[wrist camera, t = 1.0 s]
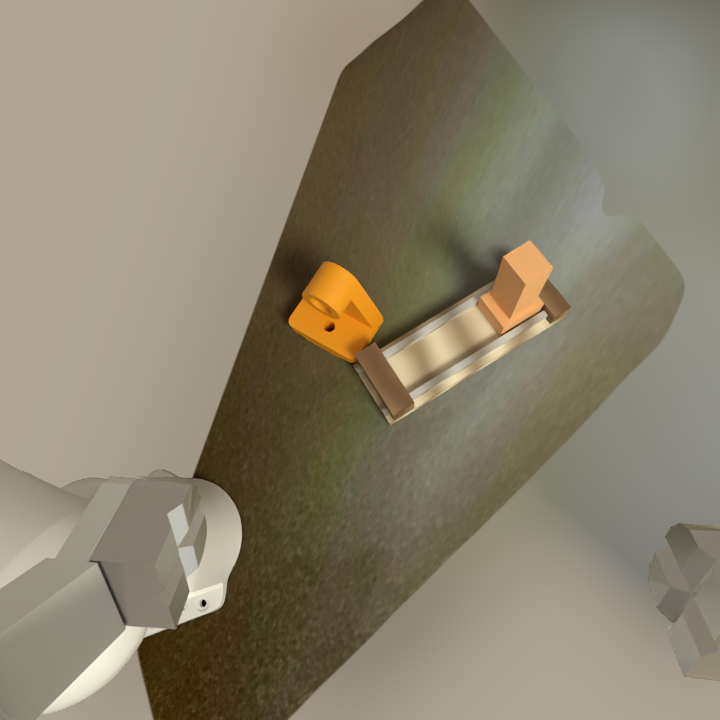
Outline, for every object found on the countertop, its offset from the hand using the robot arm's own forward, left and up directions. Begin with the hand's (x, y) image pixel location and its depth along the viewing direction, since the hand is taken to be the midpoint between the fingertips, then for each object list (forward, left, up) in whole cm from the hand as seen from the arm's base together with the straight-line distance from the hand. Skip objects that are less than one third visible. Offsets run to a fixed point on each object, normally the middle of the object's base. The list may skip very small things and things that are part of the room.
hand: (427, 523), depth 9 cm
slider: (+24, +17, -55) cm, 62 cm away
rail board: (+17, +17, -57) cm, 61 cm away
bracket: (+4, +28, -57) cm, 64 cm away
